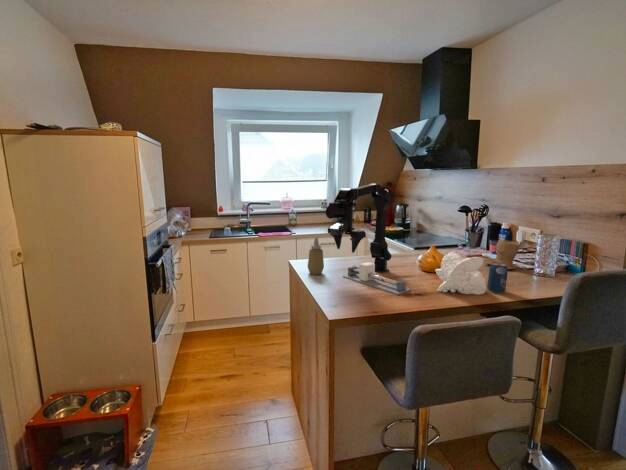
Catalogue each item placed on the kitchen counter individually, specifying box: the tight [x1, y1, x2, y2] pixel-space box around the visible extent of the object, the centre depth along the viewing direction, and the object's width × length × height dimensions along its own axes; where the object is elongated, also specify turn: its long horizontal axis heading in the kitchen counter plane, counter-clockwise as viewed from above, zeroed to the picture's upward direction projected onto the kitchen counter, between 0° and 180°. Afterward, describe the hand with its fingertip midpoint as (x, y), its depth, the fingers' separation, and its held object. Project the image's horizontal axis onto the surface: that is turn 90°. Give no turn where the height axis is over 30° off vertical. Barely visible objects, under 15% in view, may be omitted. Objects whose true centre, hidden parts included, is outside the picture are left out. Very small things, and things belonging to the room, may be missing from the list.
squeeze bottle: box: [307, 236, 325, 276], centre depth 170 cm, size 8×8×18 cm
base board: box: [342, 274, 411, 296], centre depth 158 cm, size 31×9×1 cm, turn 41°
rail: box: [347, 265, 407, 292], centre depth 158 cm, size 30×4×4 cm, turn 41°
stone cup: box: [483, 238, 520, 270], centre depth 189 cm, size 15×12×15 cm
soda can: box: [486, 262, 509, 294], centre depth 149 cm, size 7×7×12 cm
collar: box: [358, 261, 376, 281], centre depth 161 cm, size 4×6×7 cm, turn 131°
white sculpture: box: [435, 251, 487, 295], centre depth 150 cm, size 19×20×20 cm
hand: (345, 250), depth 160 cm, fingers open, 9 cm apart
